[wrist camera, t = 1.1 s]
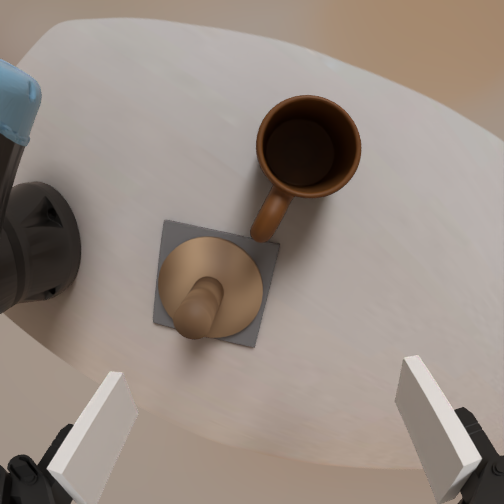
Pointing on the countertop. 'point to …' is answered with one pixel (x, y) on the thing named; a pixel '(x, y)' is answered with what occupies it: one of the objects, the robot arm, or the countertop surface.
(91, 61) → the countertop surface
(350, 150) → the mug
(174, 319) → the lid
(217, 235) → the mat
